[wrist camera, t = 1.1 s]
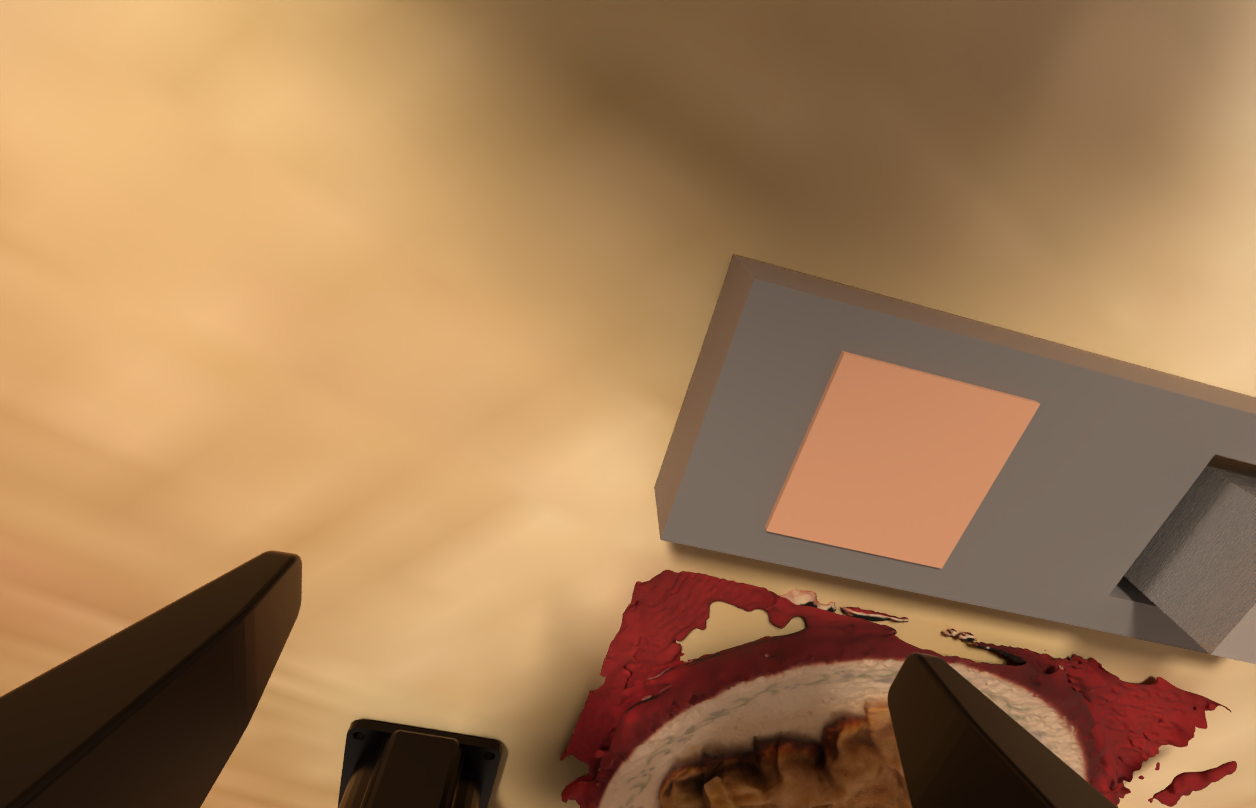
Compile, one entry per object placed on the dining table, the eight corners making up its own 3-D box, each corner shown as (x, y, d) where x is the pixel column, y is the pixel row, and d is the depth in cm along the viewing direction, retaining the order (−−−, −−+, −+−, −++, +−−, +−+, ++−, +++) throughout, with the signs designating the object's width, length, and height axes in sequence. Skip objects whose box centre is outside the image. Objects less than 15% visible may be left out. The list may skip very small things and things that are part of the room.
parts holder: (1222, 611, 26) (1300, 675, 23) (654, 487, 22) (660, 544, 19) (1378, 431, 22) (1493, 479, 19) (733, 254, 19) (755, 280, 16)
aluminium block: (1172, 552, 24) (1334, 680, 19) (1072, 529, 24) (1210, 654, 18) (1247, 456, 23) (1449, 566, 17) (1141, 428, 22) (1316, 533, 17)
